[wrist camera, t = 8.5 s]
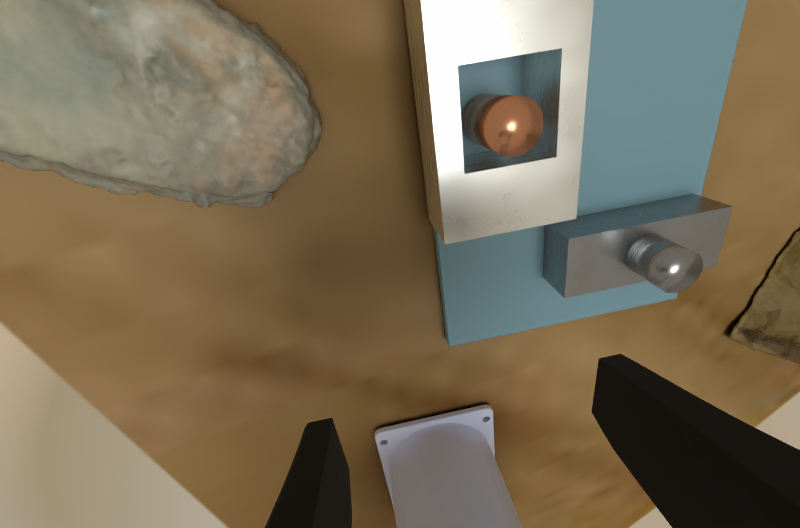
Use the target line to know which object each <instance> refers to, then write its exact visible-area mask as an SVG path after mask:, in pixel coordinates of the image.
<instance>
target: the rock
mask: <svg viewBox="0 0 800 528" xmlns="http://www.w3.org/2000/svg"><path fill="white" fill-rule="evenodd" d="M729 338H730V339H732V340H735V341H737V342H739V343H742V344H744V345H745V346H747V347H748V348H750V349H753V350H757V351H760V352H763V353H767V354H770V355H773V356H776V357H779V358H783V359H786V360H790V361H793V362H796V363H799V364H800V230H799V231H798V232H796V233H795V235H794V236H793V238H792V240H791V241H790V243H789V244H788V245H787V247H786V248H785V249H784V251H783V252H782V253H781V255H780V256H779V257H778V259H777V261H776V263H775V265H774V266H773V267H772V269H771V270H770V272H769V274H768V277H767V279H766V280H765V282H764V283H763V285H762V286H761V287H760V288H759V289H758V291H757V293H756V294H755V296H754V298H753V301H752V304H751V306H750V308H749V309H748V310H747V311H746V312H745V314H744V315H743V316H742V317H741V318H740V320H739V322H738V323H737V324H736V325H735V326H734V328H733V331H732V332H731V334H730V336H729Z"/></svg>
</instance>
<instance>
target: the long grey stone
mask: <svg viewBox="0 0 800 528" xmlns="http://www.w3.org/2000/svg"><path fill="white" fill-rule="evenodd" d="M321 124H322V123H321V119H320V113H319V110H318V109H317V107H316V106H315V105H314V104H313V102H312V100H311V93H310V88H309V86H308V83H307V81H306V77H305V74H304V73H303V71H302V70H301V69H300V68H299V67H298V66H296V65H295V64H294V63H293V62H292V61H291V60H289V59H288V58H287V57H286V56H285V55H284V53H283V52H282V50H281V49H280V48H279V47H278V45H277V44H276V43H275V42H274V41H273V40H272V39H271V38H269V37H268V36H267V35H265V34H264V33H262V32H261V30H260V29H259V26H258V24H257V23H247V22H245V21H243V20H242V19H240V18H237V17H236V16H234V15H233V14H232V13H230V12H228V11H225V10H223V9H221V8H220V7H219V6H218V5H217V4H216V3H215V2H214V1H212V0H0V160H1V161H5V162H8V163H10V164H12V165H14V166H15V167H18V168H22V169H26V170H31V171H55V172H57V173H59V174H60V175H61V176H63V177H66V178H68V179H70V180H72V181H73V182H75V183H80V184H84V185H86V186H89V187H92V188H102V189H105V190H107V191H109V192H111V193H114V194H132V195H136V194H137V193H138V192H140V191H142V192H150V193H152V194H155V195H158V196H169V197H171V198H173V199H176V200H181V201H187V202H193V203H194V204H195V205H197V206H198V207H205V208H208V207H210V206H212V204H214V203H217V202H219V203H222V204H234V205H237V206H246V207H250V206H252V207H256V208H260V207H262V206H264V205H265V204H267V203H269V202H271V201H272V200H273V196H272V195H273V193H271V192H274V191H276V190H277V189H278V187H279V186H280V185H281V184H282V183H283V182H284V181H285V180H286V179H287V178H288V177H290V176H292V175H294V174H297V173H300V172H301V170H302V169H303V167H304V165H305V164H306V161H307V160H308V159H309V158H310V156H311V154H312V153H313V152H315V151H316V149H317V145H318V142H319V140H320V134H321V132H322V129H321Z"/></svg>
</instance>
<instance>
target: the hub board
mask: <svg viewBox="0 0 800 528" xmlns="http://www.w3.org/2000/svg"><path fill="white" fill-rule="evenodd" d="M746 4H747V0H594V5H593V18H592V30H591V43H590V55H589V68H588V80H587V93H586V105H585V118H584V130H583V142H582V155H581V167H580V180H579V192H578V205H577V216H581V215H586V214H591V213H596V212H601V211H606V210H611V209H616V208H621V207H627V206H632V205H637V204H642V203H647V202H652V201H657V200H662V199H668V198H673V197H678V196H683V195H688V194H696V195H699V196H701V193H702V188H703V184H704V180H705V176H706V172H707V167H708V163H709V159H710V155H711V151H712V146H713V142H714V138H715V134H716V130H717V126H718V121H719V117H720V113H721V109H722V105H723V100H724V96H725V92H726V88H727V84H728V79H729V75H730V71H731V67H732V63H733V59H734V54H735V50H736V46H737V42H738V38H739V33H740V29H741V25H742V21H743V17H744V12H745V8H746ZM522 75H523V55H518V56H512V57H506V58H500V59H494V60H488V61H482V62H475V63H469V64H463V65H458V81H459V96H460V112H462V110H463V108H464V106H465V104H466V103H467V102H468V101H469V100H470V99H471V98H473V97H474V96H476V95H479V94H484V93H486V94H499V95H512V96H522ZM462 142H463V156H465V155H470V154H476V153H481V152H487V151H492V150H490V149H487V148H485V147H483V146H481V145H479V144H476V143H474V142H472V141H470V140H469V139H467V138H466V137H465V135H464V134H463V132H462ZM544 228H545V225H542V226H537V227H532V228H527V229H522V230H517V231H512V232H507V233H501V234H496V235H491V236H486V237H481V238H476V239H471V240H466V241H461V242H455V243H450V244H444V242H443V241H442V239H441V238H440V236H439V235H438V233H437V231H436V230H435V228H434V236H435V245H436V254H437V263H438V271H439V280H440V289H441V298H442V307H443V316H444V325H445V334H446V340H447V342H448V344H449V347H451V346H455V345H460V344H465V343H470V342H474V341H479V340H484V339H488V338H493V337H498V336H502V335H507V334H512V333H516V332H521V331H526V330H530V329H535V328H540V327H544V326H549V325H554V324H558V323H563V322H568V321H573V320H577V319H582V318H587V317H591V316H596V315H601V314H605V313H610V312H615V311H619V310H624V309H629V308H633V307H638V306H643V305H647V304H652V303H657V302H661V301H666V300H671V299H676V297H677V293H678V292H677V293H667V292H664V291H663V290H661V289H660V288H658V287H656V286H655V285H653V284H652V283H650V282H649V281H645V282H641V283H636V284H631V285H626V286H621V287H617V288H612V289H607V290H602V291H598V292H593V293H588V294H583V295H579V296H574V297H569V298H564V297H562V296H561V295H560V294H559V293H558V292H557V291H556V290H555V289H554V288H553V287H552V286H551V285H550V284H549V283H548V282H547V281H546V280H545V279H544V278H543V254H544Z"/></svg>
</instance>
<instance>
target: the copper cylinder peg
mask: <svg viewBox="0 0 800 528" xmlns="http://www.w3.org/2000/svg"><path fill="white" fill-rule="evenodd" d="M461 127H462V132H463V134H464V135H465V137H466V138H467V139H469V140H470V141H472V142H474V143H476V144H479V145H481V146H483V147H485V148H487V149H490V150H492V151H494V152H496V153H499V154H501V155H503V156H506V157H517V156H520V155H523V154H525V153H526V152H528V151H529V150H530V149H532V148H533V147H534V145H535V144H536V143H537V141H538V140H539V138H540V136H541V133H542V129H543V114H542V111H541V109H540V107H539V106H538V104H537V103H536V102H535V101H534V100H532V99H530V98H528V97H524V96H512V95H499V94H486V93H484V94H479V95H476V96H474V97H473V98H471V99H470V100H469V101H468V102H467V103H466V104H465V106H464V108H463V110H462V112H461Z"/></svg>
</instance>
